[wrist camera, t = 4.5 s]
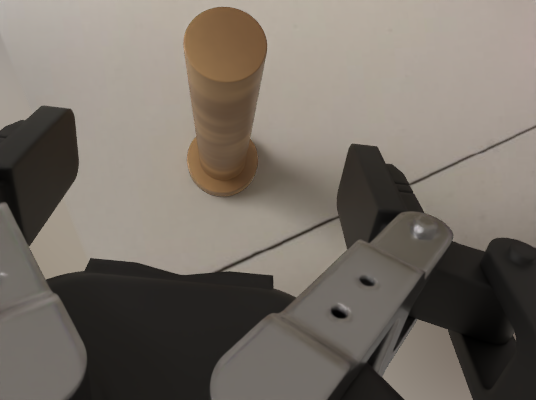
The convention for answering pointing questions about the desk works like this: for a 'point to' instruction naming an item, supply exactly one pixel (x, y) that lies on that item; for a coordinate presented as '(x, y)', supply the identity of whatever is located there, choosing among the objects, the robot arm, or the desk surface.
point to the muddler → (224, 97)
